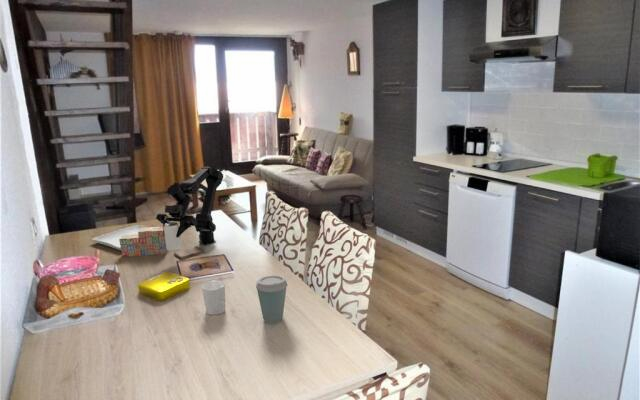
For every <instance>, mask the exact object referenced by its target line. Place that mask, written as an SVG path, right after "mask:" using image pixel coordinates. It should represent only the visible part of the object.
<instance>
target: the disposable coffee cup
mask: <svg viewBox="0 0 640 400" xmlns="http://www.w3.org/2000/svg"><path fill="white" fill-rule="evenodd" d="M287 287H288V281H287V279H286V277H284V276H282V275H275V274H273V275H265V276H262V277H260V278H259V279H258V280H257V281H256V283H255V289H256V290H257V295H258V296H257V297H258V300H259V306H260V310H261V315H262V319H263V322H265V323H266V324H271V325H272V324H277V323H280V322H282V321H283V318H284V309H285V303H286V302H285V301H286V294H287Z"/></svg>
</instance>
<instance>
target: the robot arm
mask: <svg viewBox="0 0 640 400" xmlns="http://www.w3.org/2000/svg"><path fill="white" fill-rule="evenodd" d="M223 179H224V173H222V171H221V170H219V169H218V170H217V169H214V168H213V167H210V166H202V167H201V168H200V169H199V171H198V172H196V173H195V174H194V175H193V176H192V177H191V178H189V179H186V180H184V181H182V182H181V183H179V182H174V183H173V184H171V185H169V187H168V188H167V191H166V192H167V194H168V195H169V196H170V197H171V198H172V200H174V201H176V203H175V204H173V205H165V207H164V213H157V214H156V217H155V219H156V220H157V221H158V222H159V223H161V224H162V227H163V235H164V236H165V233H164V227H165V224H166V223H170V222H176V223H179V225H178V226H179V229H178V232H177V235H176V237H179V236H180V237H181V235H182V234H183V233H184V232H185V231H187V230H188V229H189V228H191V227H194V228H195V231H196V232H198V233H199V234H198V240H199V241H198V243H200V244H201V245H204V246H207V245H209V244H213V243H216V242H217V240H215V235H214V232H216V230H217V225H216V224H215V223H214V222H213V221H214V219H213V217H212V210H213V206H214V201H215V198H216V193H217V189H218V188H219V186H220V185H222V182H223ZM204 181H205V183H206V185H207V186H206V189H205V194H204V198H203V201H202V206H201V210H200V212H199V213H196V214H195V217H194V215H192V214H189V215H188V213H189V210H188V209H189V206H190V204H191V203H193V202H194V200H193V198H192V196H191V195H195V194H196V193H197V192H198V191H199V186H200V185H201V184H202V183H203V182H204ZM166 213H167V214H168V215H167V214H166Z"/></svg>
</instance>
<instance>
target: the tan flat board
mask: <svg viewBox="0 0 640 400" xmlns="http://www.w3.org/2000/svg"><path fill="white" fill-rule="evenodd" d="M205 251H206V250H205V249H204V248H202V247H200V246H198V245H195V246H192V247H188V248H184V249H182V250H181V249H180V250H178V251H173V254H174V256H175V257H177V258H179V259H180V260H184V259H188V258H190V257H194V256H197V255H200V254H203V253H206V252H205Z"/></svg>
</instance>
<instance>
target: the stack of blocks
mask: <svg viewBox="0 0 640 400" xmlns="http://www.w3.org/2000/svg"><path fill="white" fill-rule="evenodd" d="M148 227H149V228H141V229H140V230H139V231H138V234H131V235H123V236H122V237H121V238H120V239H119V241H120V246H121V250H120V252H121V257H123V258H124V257H139V256H157V255H158V256H159V255H168V254H169V251H168V250H167V248H166V241H165V236H164V235H163V226H152V227H151V226H148Z"/></svg>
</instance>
